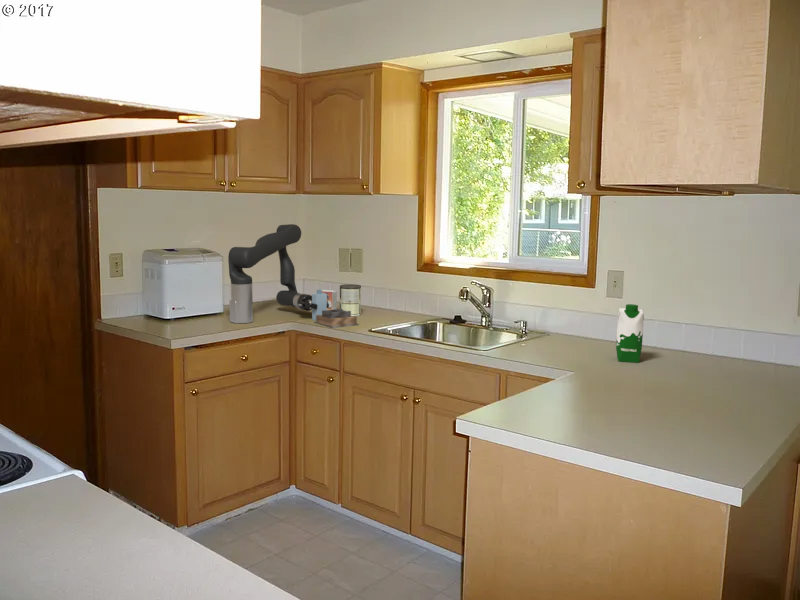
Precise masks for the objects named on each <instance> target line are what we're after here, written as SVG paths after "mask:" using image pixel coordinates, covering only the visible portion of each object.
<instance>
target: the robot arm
mask: <svg viewBox="0 0 800 600" xmlns="http://www.w3.org/2000/svg"><path fill="white" fill-rule="evenodd" d="M301 237H302V230H301V228H300V226H299V225H298V224H293V223H292V224H291V223H290V224H280V225H278V227H276V231H275V232H272V233H267V234H265V235H263V236H261V237H259V238H258V239H257V240H256V242H255V245H254V246H250V247H248V246H247V247H246V246H233V247H231V248H230V249H229V252H228V255H227V257H228V272H229V273H228V274H229V275H228V276H229V279H230V300H229V303H228V304H229V322H231V323H233V324H249V323H252V322H254V320H253V319H254V317H253V316H254V315H253V314H254V311H253V278H252V276H250V275H248V274H247V273H246V272H245V271H244V270H243V269H250V268H252V267H254V266H255V265H257V264H259V262H261V261H262V260H264V259H265V258H268V257H269V256H271V255H273V254H275V253H277V252H278V257H279V267H280V269H279V270H280V271H279V274H280V275H279V277H280V280H279V281H280V284H281V286H285V287H287V289H288V290H287V289H285V290H279V291H278V292H277V294H276V297H275V298H276V301H277V303H278V304H279V305H281V306H287V307H289V306H291V307H294V308H297V309H299V310H302V311H306V312H309V311H312V308H313V309H317V304H313V303H312V294H307V293H301V292H298V289H297V286H296V285H297V284H296V279H295V278H296V277H295V276H296V273H295V272H296V270H295V265H294V263H293V261H292V259H291V257H290V255H289V253H288V250H287V247H288V246H290V245H292V244H296V243H298V242H299V241H300V239H301ZM327 308H329V304H328V301H327Z"/></svg>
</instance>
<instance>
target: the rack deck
mask: <svg viewBox="0 0 800 600" xmlns="http://www.w3.org/2000/svg"><path fill="white" fill-rule="evenodd" d="M357 320H358V316H351V311H344V310H343V309H340V308H336V309H334V310H323V311H322V315H316V321H314V322H313V323H314V324H317V325H320V326H324V327H328V328H331V329H333V328H334V329H335V328H344V327H351V326H352V327H353V326H359V325H360V323H357V322H358V321H357Z"/></svg>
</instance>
